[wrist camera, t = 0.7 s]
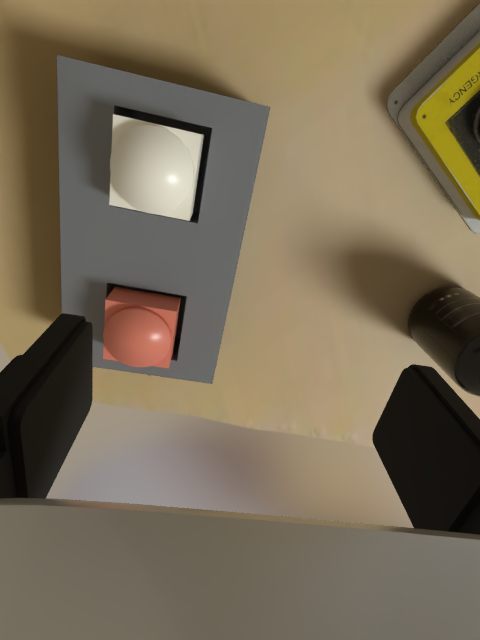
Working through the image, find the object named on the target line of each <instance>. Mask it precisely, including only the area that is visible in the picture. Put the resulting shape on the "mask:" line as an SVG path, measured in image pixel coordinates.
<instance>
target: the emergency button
mask: <svg viewBox="0 0 480 640" xmlns="http://www.w3.org/2000/svg"><path fill="white" fill-rule="evenodd" d="M387 108H388V111H389V114H390V115H391V117H392V118H393V120H394V121H395V122H396V124H397V125H398V127H399V128H400V130H401V131H402V132H403V134H404V135H405V137H406V138H407V140H408V141H409V142H410V144H411V145H412V147H413V148H414V150H415V151H416V152H417V154H418V155H419V157H420V158H421V160H422V161H423V163H424V164H425V165H426V167H427V168H428V170H429V171H430V173H431V174H432V175H433V177H434V178H435V180H436V181H437V183H438V184H439V185H440V187H441V188H442V190H443V191H444V193H445V194H446V195H447V197H448V198H449V200H450V201H451V203H452V204H453V205H454V207H455V208H456V210H457V211H458V213H459V214H460V215H461V217H462V218H463V220H464V221H465V223H466V224H467V226H468V227H469V228H470V230H471V231H473V232H474V233H476V234H480V3H479V4H478V5H477V6H476V7H475V8H474V9H473V10H472V11H471V12H470V13H469V14H468V15H467V16H466V17H465V18H464V19H463V20H462V21H461V22H460V23H459V24H458V25H457V26H456V27H455V28H454V29H453V30H452V31H451V32H450V33H449V34H448V35H447V36H446V37H445V38H444V39H443V40H442V41H441V42H440V43H439V44H438V45H437V46H436V47H435V48H434V49H433V50H432V51H431V52H430V53H429V54H428V55H427V56H426V57H425V58H424V59H423V60H422V61H421V62H420V63H419V64H418V66H417V67H416V68H415V69H414V70H413V71H412V72H411V73H410V74H409V75H408V76H407V77H406V78H405V79H404V80H403V81H402V82H401V83H400V84H399V85H398V86H397V87H396V88H395V89H394V90H393V91H392V92H391V94H390V95H389V97H388V99H387Z"/></svg>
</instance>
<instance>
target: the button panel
mask: <svg viewBox="0 0 480 640" xmlns="http://www.w3.org/2000/svg"><path fill="white" fill-rule="evenodd" d="M57 93H58V145H59V196H60V248H61V300H62V313H66V314H72V315H79V316H84V317H85V318H86V322H91V323H92V327H93V355H92V367H98V368H105V369H112V370H119V371H126V372H133V373H140V374H147V375H154V376H161V377H168V378H175V379H182V380H189V381H196V382H203V383H210V384H212V382H213V377H214V373H215V368H216V363H217V358H218V354H219V349H220V344H221V339H222V335H223V330H224V325H225V320H226V316H227V311H228V306H229V301H230V297H231V292H232V287H233V282H234V278H235V273H236V268H237V263H238V258H239V254H240V249H241V244H242V239H243V235H244V230H245V225H246V220H247V216H248V211H249V206H250V201H251V197H252V192H253V187H254V182H255V178H256V173H257V168H258V163H259V158H260V154H261V149H262V144H263V139H264V135H265V130H266V125H267V120H268V116H269V111H270V107H268V106H264V105H260V104H256V103H251V102H247V101H243V100H239V99H235V98H231V97H227V96H223V95H219V94H215V93H211V92H207V91H203V90H199V89H194V88H190V87H186V86H182V85H178V84H174V83H170V82H166V81H162V80H158V79H154V78H150V77H146V76H141V75H137V74H133V73H129V72H125V71H121V70H117V69H113V68H109V67H105V66H101V65H97V64H93V63H89V62H84V61H80V60H76V59H72V58H68V57H64V56H60V55H57ZM113 114H115V115H119V116H124V117H128V118H132V119H137V120H141V121H145V122H150V123H154V124H158V125H163V126H167V127H172V128H176V129H180V130H185V131H189V132H193V133H198V134H202V135H204V138H203V145H202V152H201V159H200V166H199V173H198V180H197V187H196V194H195V201H194V208H193V214H192V216H191V219H190V221H187V220H182V219H177V218H172V217H167V216H162V215H157V214H150V213H146V212H142V211H137V210H132V209H127V208H122V207H117V206H112V205H109V200H110V176H111V172H110V157H111V151H112V126H113ZM115 287H120V288H126V289H132V290H138V291H143V292H149V293H155V294H161V295H167V296H172V297H178V298H181V299H180V306H179V313H178V320H177V327H176V334H175V341H174V348H173V354H172V358H171V362H170V366H169V368H162V367H155V366H149V367H132V366H128V365H125V364H123V363H121V362H119V361H114V360H107V359H103V348H104V340H103V332H104V323H105V300H106V298H107V297H108V296H109V294H110V293H111V292H112V290H113V289H114V288H115Z"/></svg>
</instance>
